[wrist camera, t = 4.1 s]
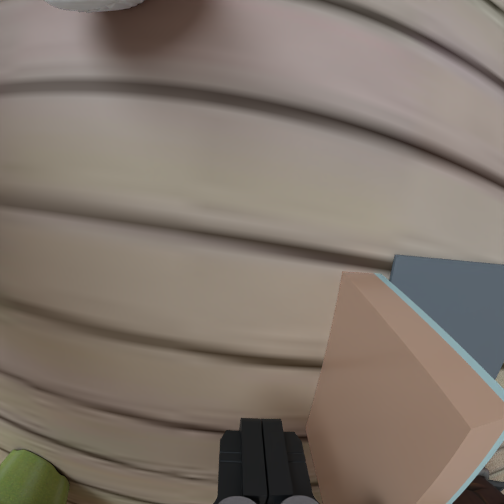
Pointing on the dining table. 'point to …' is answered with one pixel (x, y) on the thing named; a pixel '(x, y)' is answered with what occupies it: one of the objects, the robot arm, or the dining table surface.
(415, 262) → the mat
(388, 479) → the tile
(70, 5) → the white citrus juicer
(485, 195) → the dining table surface
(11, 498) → the plant pot
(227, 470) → the robot arm
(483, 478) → the flowerpot
